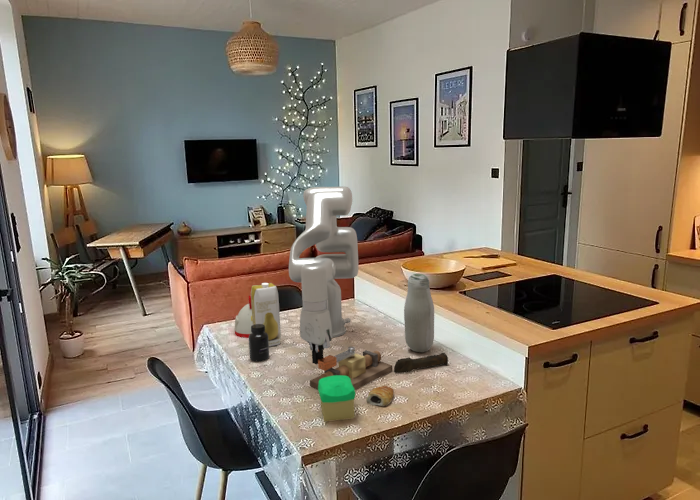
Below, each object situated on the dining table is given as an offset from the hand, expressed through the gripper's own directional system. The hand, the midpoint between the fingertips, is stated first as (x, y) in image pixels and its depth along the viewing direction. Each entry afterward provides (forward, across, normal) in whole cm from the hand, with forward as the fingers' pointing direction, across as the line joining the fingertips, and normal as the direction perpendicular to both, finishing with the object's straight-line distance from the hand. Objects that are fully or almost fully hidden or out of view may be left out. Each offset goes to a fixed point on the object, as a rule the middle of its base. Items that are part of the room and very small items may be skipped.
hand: (317, 362), depth 156 cm
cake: (+8, +16, -8) cm, 20 cm away
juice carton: (+8, -41, +11) cm, 43 cm away
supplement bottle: (+8, -32, +1) cm, 33 cm away
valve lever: (0, +4, +4) cm, 6 cm away
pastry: (+8, +20, +6) cm, 22 cm away
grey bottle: (+8, +6, +42) cm, 44 cm away
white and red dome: (+8, -57, +15) cm, 59 cm away
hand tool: (+8, +16, +30) cm, 35 cm away
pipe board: (+8, +4, +10) cm, 14 cm away
